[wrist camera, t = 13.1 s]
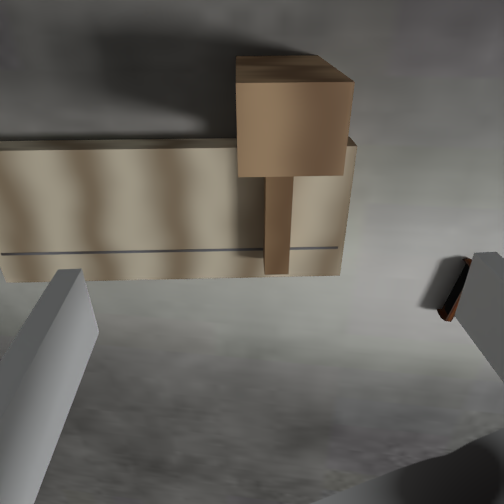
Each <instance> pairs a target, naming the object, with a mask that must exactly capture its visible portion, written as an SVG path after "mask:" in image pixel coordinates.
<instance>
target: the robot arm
mask: <svg viewBox="0 0 504 504" xmlns="http://www.w3.org/2000/svg"><path fill="white" fill-rule="evenodd" d="M455 317H456V318H457V320H458V321H459V322H460V324H461V325H462V327H463V328H464V329H465V331H466V332H467V333H468V335H469V336H470V337H471V339H472V340H473V341H474V343H475V344H476V346H477V347H478V348H479V350H480V351H481V352H482V354H483V355H484V356H485V358H486V359H487V361H488V362H489V363H490V365H491V366H492V367H493V369H494V370H495V371H496V373H497V374H498V376H499V377H500V378H501V380H502V381H503V382H504V258H502V257H501V256H500V255H499V254H498V253H497V252H483V253H474V256H473V259H472V262H471V265H470V269H469V272H468V275H467V278H466V281H465V284H464V287H463V291H462V294H461V297H460V300H459V303H458V306H457V309H456V313H455ZM98 334H99V330H98V326H97V322H96V319H95V315H94V311H93V308H92V304H91V300H90V297H89V293H88V289H87V286H86V282H85V278H84V275H83V271H82V269H58V270H57V272H56V273H55V275H54V276H53V278H52V280H51V281H50V283H49V284H48V286H47V288H46V289H45V291H44V292H43V294H42V296H41V297H40V299H39V300H38V302H37V304H36V305H35V307H34V308H33V310H32V312H31V313H30V315H29V316H28V318H27V320H26V321H25V323H24V324H23V326H22V328H21V329H20V331H19V332H18V334H17V336H16V337H15V339H14V340H13V342H12V344H11V345H10V347H9V348H8V350H7V352H6V353H5V355H4V356H3V358H2V359H1V361H0V504H34V502H35V499H36V496H37V494H38V491H39V488H40V486H41V483H42V481H43V478H44V475H45V473H46V470H47V467H48V465H49V462H50V460H51V457H52V454H53V452H54V449H55V447H56V444H57V441H58V439H59V436H60V433H61V431H62V428H63V426H64V423H65V420H66V418H67V415H68V412H69V410H70V407H71V405H72V402H73V399H74V397H75V394H76V392H77V389H78V386H79V384H80V381H81V378H82V376H83V373H84V371H85V368H86V365H87V363H88V360H89V357H90V355H91V352H92V350H93V347H94V344H95V342H96V339H97V337H98Z"/></svg>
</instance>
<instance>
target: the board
mask: <svg viewBox="0 0 504 504" xmlns="http://www.w3.org/2000/svg"><path fill="white" fill-rule="evenodd" d="M356 152H357V145H356V144H355V143H354V142H353V140H352V139H351V138H350V137H348V141H347V149H346V158H345V166H344V174H343V176H294V181H293V200H292V218H291V237H290V256H289V274H280V275H265V274H264V264H263V243H264V177H238V158H237V138H205V139H124V140H42V141H0V267H1V270H2V272H3V275H4V277H5V280H6V282H7V283H15V282H50V281H51V280H52V278H53V276H54V275H55V273H56V272H57V270H58V269H82V271H83V275H84V278H85V281H108V280H155V279H202V278H248V277H295V276H340V270H341V263H342V255H343V248H344V240H345V233H346V226H347V218H348V211H349V203H350V196H351V189H352V181H353V174H354V166H355V159H356Z"/></svg>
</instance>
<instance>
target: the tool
mask: <svg viewBox="0 0 504 504" xmlns="http://www.w3.org/2000/svg"><path fill="white" fill-rule="evenodd" d="M462 260H464V261H465V262H466V265H465V267H464V269H463V271H462V273H461V274H460V276H459V278H458V280H457V282H456V284H455V286H454V288H453V290H452V292H451V293H450V295H449V297H448V299H447V301H446V303H445V305H444V307H443V309H437V311H438V314H439V315H440V317H441V318H442V319H443V320H445V321H449V322H451V321H452V319H453V317H455V313H456V309H457V306H458V303H459V300H460V297H461V294H462V291H463V287H464V284H465V281H466V278H467V275H468V272H469V269H470V265H471V262H472V259H462Z"/></svg>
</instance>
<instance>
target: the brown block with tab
mask: <svg viewBox="0 0 504 504" xmlns="http://www.w3.org/2000/svg"><path fill="white" fill-rule="evenodd" d="M354 83H355V82H354V81H353V80H351V79H350V78H348V77H347V76H346V75H344V74H343V73H342V72H340V71H339V70H337V69H336V68H335V67H333V66H332V65H330V64H329V63H328V62H326V61H325V60H324V59H322V58H321V57H319V56H318V55H317V56H236V114H237V158H238V177H264V243H263V264H264V274H265V275H280V274H289V256H290V237H291V218H292V200H293V181H294V176H343V174H344V166H345V158H346V149H347V141H348V133H349V125H350V116H351V108H352V100H353V91H354Z"/></svg>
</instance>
